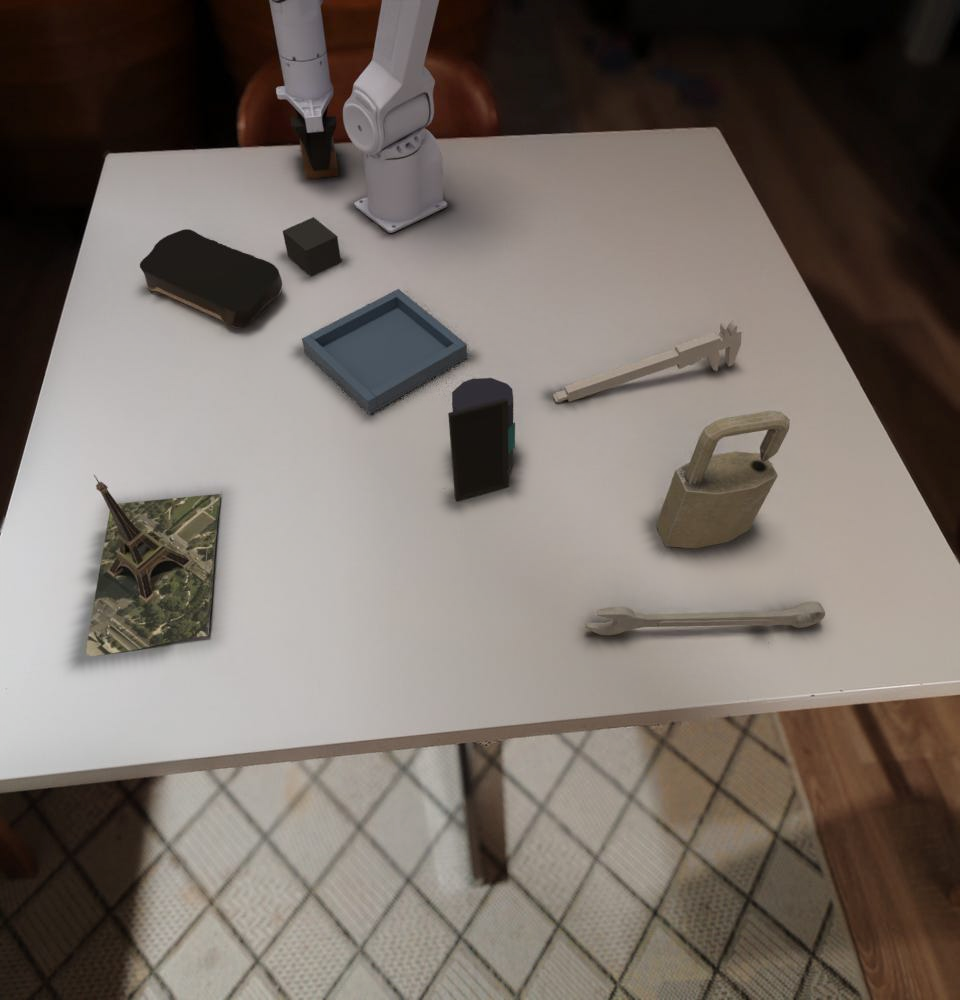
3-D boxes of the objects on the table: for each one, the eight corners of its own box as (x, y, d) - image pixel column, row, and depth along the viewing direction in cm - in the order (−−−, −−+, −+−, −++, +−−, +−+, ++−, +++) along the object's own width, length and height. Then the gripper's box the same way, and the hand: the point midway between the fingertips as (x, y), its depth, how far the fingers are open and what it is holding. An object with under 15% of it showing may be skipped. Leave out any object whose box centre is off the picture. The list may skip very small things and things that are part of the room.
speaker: (516, 501, 72) (516, 417, 64) (454, 502, 72) (447, 419, 64) (514, 444, 77) (514, 361, 69) (456, 445, 77) (450, 362, 69)
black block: (318, 242, 95) (313, 216, 92) (341, 261, 93) (337, 236, 90) (287, 256, 93) (282, 230, 91) (310, 276, 91) (305, 250, 88)
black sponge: (294, 295, 89) (288, 269, 86) (245, 337, 85) (237, 311, 82) (189, 250, 94) (180, 224, 91) (137, 288, 89) (126, 261, 86)
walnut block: (335, 156, 107) (331, 131, 104) (338, 176, 104) (335, 150, 101) (303, 159, 106) (298, 133, 103) (306, 179, 103) (301, 153, 101)
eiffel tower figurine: (213, 641, 63) (162, 554, 52) (84, 657, 62) (6, 571, 51) (221, 496, 72) (179, 396, 61) (109, 508, 71) (46, 408, 60)
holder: (399, 302, 89) (398, 288, 87) (467, 358, 84) (467, 344, 82) (304, 352, 84) (301, 338, 82) (369, 414, 78) (367, 401, 77)
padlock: (752, 537, 70) (812, 428, 58) (668, 553, 69) (711, 444, 57) (734, 503, 72) (788, 391, 60) (652, 518, 71) (691, 406, 59)
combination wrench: (830, 596, 63) (588, 600, 62) (835, 610, 62) (590, 615, 61) (812, 617, 66) (581, 622, 65) (816, 631, 65) (583, 636, 64)
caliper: (727, 361, 84) (744, 316, 79) (732, 367, 83) (749, 323, 78) (552, 397, 80) (558, 352, 75) (555, 405, 80) (562, 360, 75)
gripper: (266, 27, 97) (286, 132, 108) (272, 81, 88) (293, 190, 99) (322, 23, 98) (336, 128, 109) (333, 76, 89) (347, 184, 100)
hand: (319, 157), depth 104 cm, fingers closed on walnut block, 5 cm apart
